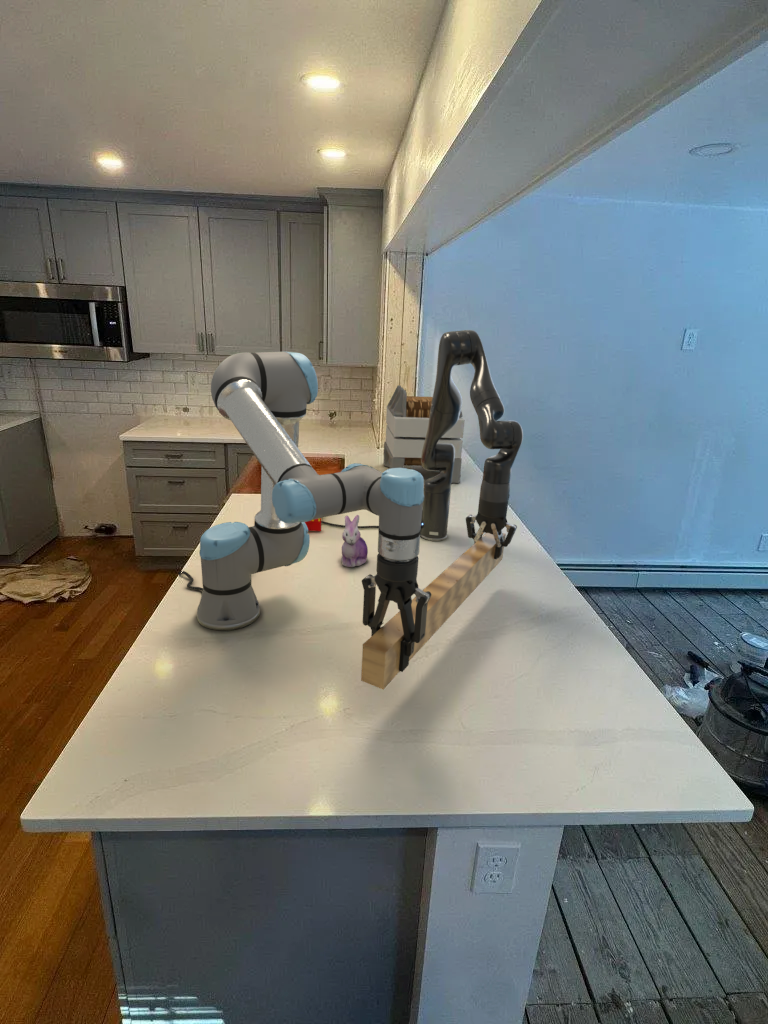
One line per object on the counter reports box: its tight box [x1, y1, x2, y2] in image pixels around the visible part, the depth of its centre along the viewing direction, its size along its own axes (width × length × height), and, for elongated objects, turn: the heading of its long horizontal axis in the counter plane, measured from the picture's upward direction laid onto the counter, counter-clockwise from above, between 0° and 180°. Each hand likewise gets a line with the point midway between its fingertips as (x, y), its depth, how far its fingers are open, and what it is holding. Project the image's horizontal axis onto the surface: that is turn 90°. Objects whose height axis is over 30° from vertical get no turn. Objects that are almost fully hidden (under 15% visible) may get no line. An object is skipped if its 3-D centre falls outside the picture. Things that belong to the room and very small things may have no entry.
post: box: [360, 532, 507, 690], centre depth 132 cm, size 69×5×8 cm, turn 151°
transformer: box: [383, 384, 465, 484], centre depth 268 cm, size 34×33×41 cm
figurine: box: [340, 514, 369, 568], centre depth 174 cm, size 9×10×15 cm
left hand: (391, 662), depth 110 cm, fingers closed on post, 5 cm apart
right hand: (486, 555), depth 154 cm, fingers closed on post, 4 cm apart
